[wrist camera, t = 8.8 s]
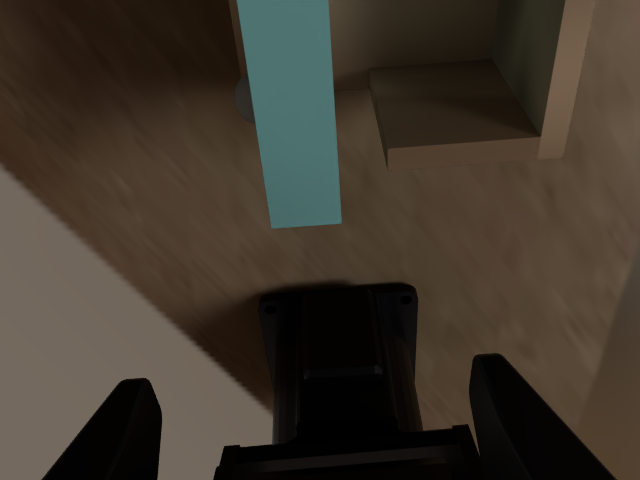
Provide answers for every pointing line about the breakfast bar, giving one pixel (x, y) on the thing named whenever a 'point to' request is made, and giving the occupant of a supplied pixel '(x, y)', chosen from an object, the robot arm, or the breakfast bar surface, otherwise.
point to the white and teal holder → (292, 107)
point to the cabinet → (459, 74)
